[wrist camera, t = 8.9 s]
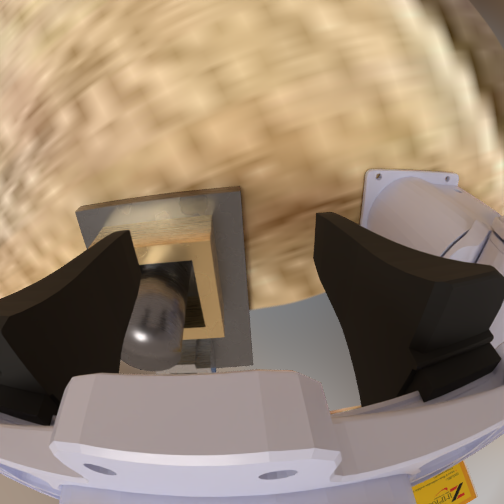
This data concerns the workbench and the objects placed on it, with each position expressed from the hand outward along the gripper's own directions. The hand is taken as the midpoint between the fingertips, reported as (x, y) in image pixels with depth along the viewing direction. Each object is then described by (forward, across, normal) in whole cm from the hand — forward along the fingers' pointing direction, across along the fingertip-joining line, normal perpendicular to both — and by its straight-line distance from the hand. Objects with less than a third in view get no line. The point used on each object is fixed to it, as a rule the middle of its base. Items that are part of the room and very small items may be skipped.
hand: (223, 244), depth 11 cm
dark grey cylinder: (+8, +5, +6) cm, 12 cm away
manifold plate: (+9, +5, +10) cm, 15 cm away
